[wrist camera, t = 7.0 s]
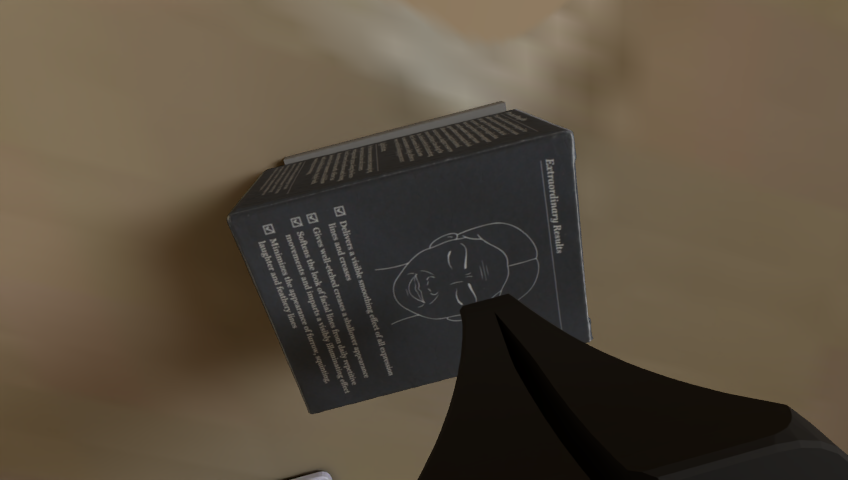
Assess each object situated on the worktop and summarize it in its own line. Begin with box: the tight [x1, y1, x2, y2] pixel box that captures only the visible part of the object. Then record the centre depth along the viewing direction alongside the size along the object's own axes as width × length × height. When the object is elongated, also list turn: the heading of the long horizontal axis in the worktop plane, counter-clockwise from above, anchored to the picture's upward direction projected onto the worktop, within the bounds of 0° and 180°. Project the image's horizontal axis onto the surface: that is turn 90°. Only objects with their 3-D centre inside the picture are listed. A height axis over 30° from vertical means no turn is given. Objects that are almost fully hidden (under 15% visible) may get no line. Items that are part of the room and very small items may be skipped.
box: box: [227, 109, 593, 414], centre depth 17 cm, size 8×6×11 cm
